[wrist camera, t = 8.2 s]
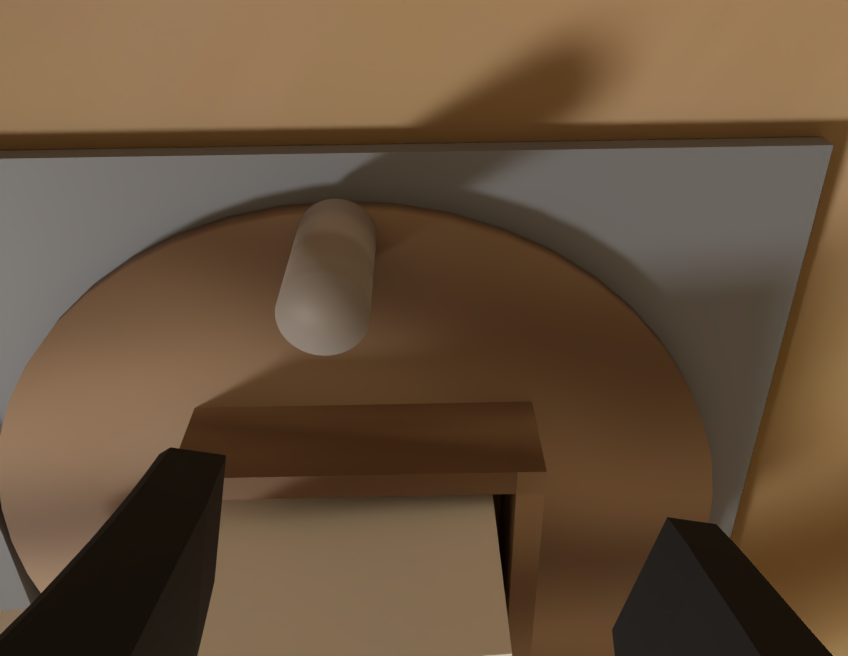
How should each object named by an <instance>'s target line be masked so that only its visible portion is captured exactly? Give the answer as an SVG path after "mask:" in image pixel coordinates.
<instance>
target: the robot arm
mask: <svg viewBox="0 0 848 656" xmlns="http://www.w3.org/2000/svg"><path fill="white" fill-rule="evenodd" d="M225 463H226V455H222V454H215V453H207V452H200V451H193V450H186V449H179V448H172V447H170V448H168V449H167V450H165V451H163V452H162V453H160V454H159V455H158V456H157V458H156V459H155V461H154V462H153V463H152V465H151V466H150V468H149V469H148V470H147V472H146V473H145V474H144V476H143V477H142V478H141V479H140V481H139V482H138V483H137V485H136V486H135V487H134V488H133V490H132V491H131V492H130V493H129V495H128V496H127V497H126V498H125V500H124V501H123V502H122V503H121V504H120V506H119V507H118V508H117V509H116V511H115V512H114V513H113V514H112V515H111V516H110V518H109V519H108V520H107V521H106V522H105V523H104V525H103V526H102V527H101V528H100V529H99V530H98V532H97V533H96V534H95V535H94V536H93V537H92V538H91V540H90V541H89V542H88V543H87V544H86V545H85V546H84V547H83V548H82V549H81V551H80V552H79V553H78V554H77V555H76V556H75V557H74V558H73V559H72V560H71V561H70V563H69V564H68V565H67V566H66V567H65V568H64V569H63V570H62V571H61V572H60V573H59V574H58V576H57V577H56V578H55V579H54V580H53V581H52V582H51V583H50V584H49V585H48V586H47V587H46V589H45V590H44V591H43V592H42V593H41V594H40V595H39V596H38V597H37V598H36V599H35V600H34V601H33V602H32V603H31V604H30V605H29V606H28V607H27V608H26V609H25V610H24V611H23V612H22V613H21V614H20V615H19V616H18V617H17V618H16V619H15V620H14V621H13V622H12V623H11V624H10V625H9V626H8V627H7V628H6V629H5V630H4V631H3V632H2V633H1V634H0V656H198V651H199V647H200V643H201V639H202V634H203V630H204V626H205V621H206V617H207V612H208V608H209V604H210V599H211V595H212V590H213V586H214V582H215V572H216V561H217V550H218V539H219V528H220V517H221V507H222V496H223V485H224V474H225ZM612 635H613V644H614V653H615V656H833V655H832V654H831V653H830V652H829V651H828V650H827V649H826V647H825V646H824V645H823V644H822V643H821V642H820V641H819V640H818V638H817V637H816V636H815V635H814V634H813V633H812V632H811V630H810V629H809V628H808V627H807V626H806V625H805V624H804V622H803V621H802V620H801V619H800V618H799V617H798V616H797V614H796V613H795V612H794V611H793V610H792V609H791V607H790V606H789V605H788V604H787V603H786V602H785V601H784V599H783V598H782V597H781V596H780V595H779V594H778V593H777V591H776V590H775V589H774V588H773V587H772V586H771V584H770V583H769V582H768V581H767V580H766V579H765V578H764V576H763V575H762V574H761V573H760V572H759V571H758V570H757V568H756V567H755V566H754V565H753V564H752V563H751V562H750V560H749V559H748V558H747V557H746V556H745V555H744V554H743V552H742V551H741V550H740V549H739V548H738V547H737V546H736V545H735V544H734V542H733V541H732V540H731V539H730V538H729V537H728V536H727V535H726V534H725V533H724V532H723V531H722V530H721V529H720V527H719V526H718V525H717V524H713V523H705V522H698V521H691V520H684V519H677V518H670V517H667V519H666V521H665V523H664V525H663V527H662V529H661V531H660V533H659V535H658V537H657V539H656V541H655V543H654V545H653V547H652V549H651V551H650V553H649V555H648V557H647V559H646V561H645V564H644V566H643V568H642V570H641V572H640V574H639V576H638V578H637V580H636V582H635V584H634V586H633V588H632V590H631V592H630V594H629V596H628V598H627V600H626V602H625V604H624V606H623V608H622V610H621V612H620V614H619V616H618V619H617V621H616V623H615V625H614V627H613V629H612Z"/></svg>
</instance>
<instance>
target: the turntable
mask: <svg viewBox="0 0 848 656" xmlns="http://www.w3.org/2000/svg"><path fill="white" fill-rule="evenodd" d="M170 447H172V448H179V449H186V450H193V451H200V452H207V453H215V454H222V455H226V463H225V474H224V485H223V496H222V500H233V499H284V498H335V497H386V496H437V495H488V494H493V502H494V510H495V519H496V527H497V535H498V543H499V551H500V559H501V567H502V575H503V583H504V592H505V600H506V608H507V616H508V624H509V632H510V640H511V648H512V656H615V653H614V644H613V635H612V629H613V627H614V625H615V623H616V621H617V619H618V616H619V614H620V612H621V610H622V608H623V606H624V604H625V602H626V600H627V598H628V596H629V594H630V592H631V590H632V588H633V586H634V584H635V582H636V580H637V578H638V576H639V574H640V572H641V570H642V568H643V566H644V564H645V561H646V559H647V557H648V555H649V553H650V551H651V549H652V547H653V545H654V543H655V541H656V539H657V537H658V535H659V533H660V531H661V529H662V527H663V525H664V523H665V521H666V519H667V517H670V518H677V519H684V520H691V521H698V522H705V523H709V517H710V510H711V504H712V497H713V484H712V459H711V454H710V449H709V445H708V440H707V435H706V431H705V426H704V423H703V420H702V418H701V415H700V413H699V411H698V408H697V406H696V403H695V401H694V399H693V396H692V394H691V391H690V389H689V387H688V385H687V383H686V381H685V379H684V377H683V375H682V373H681V371H680V370H679V368H678V367H677V365H676V363H675V362H674V360H673V359H672V357H671V355H670V354H669V352H668V351H667V349H666V348H665V346H664V344H663V343H662V341H661V340H660V338H659V337H658V336H657V335H656V334H655V333H654V332H653V330H652V329H651V328H650V327H649V326H648V325H647V324H646V323H645V321H644V320H643V319H642V318H641V317H640V316H639V315H638V314H637V312H636V311H635V310H634V309H633V308H632V307H631V306H630V305H629V304H628V303H627V302H625V301H624V300H623V299H622V298H621V297H619V296H618V295H617V294H616V293H615V292H613V291H612V290H611V289H610V288H609V287H607V286H606V285H605V284H604V283H603V282H601V281H600V280H599V279H598V278H597V277H595V276H594V275H592V274H591V273H589V272H587V271H586V270H584V269H583V268H581V267H579V266H578V265H576V264H574V263H573V262H571V261H569V260H568V259H566V258H565V257H563V256H561V255H560V254H558V253H556V252H555V251H553V250H551V249H549V248H547V247H545V246H542V245H540V244H538V243H536V242H533V241H531V240H529V239H527V238H524V237H522V236H520V235H518V234H515V233H513V232H511V231H508V230H506V229H504V228H501V227H497V226H494V225H491V224H487V223H484V222H481V221H477V220H474V219H470V218H467V217H464V216H460V215H457V214H454V213H450V212H444V211H438V210H432V209H426V208H420V207H414V206H408V205H402V204H396V203H374V202H351V201H348V200H344V199H327V200H323V201H320V202H318V203H306V204H293V205H281V206H276V207H271V208H267V209H262V210H257V211H252V212H247V213H243V214H238V215H233V216H228V217H225V218H222V219H219V220H216V221H213V222H210V223H208V224H205V225H202V226H199V227H196V228H193V229H190V230H187V231H185V232H182V233H179V234H176V235H174V236H172V237H170V238H168V239H166V240H164V241H162V242H160V243H159V244H157V245H155V246H153V247H151V248H149V249H147V250H145V251H143V252H141V253H139V254H137V255H135V256H133V257H131V258H130V259H128V260H127V261H126V262H124V263H123V264H121V265H120V266H119V267H117V268H116V269H114V270H113V271H112V272H110V273H109V274H107V275H106V276H105V277H103V278H102V279H100V280H99V281H98V282H96V283H95V284H93V285H92V286H91V287H90V288H89V289H88V290H87V291H86V292H85V293H84V294H83V295H82V296H81V297H80V298H79V299H78V300H77V301H76V302H75V303H74V304H73V305H72V306H71V307H70V308H69V309H68V310H67V311H66V312H65V313H64V314H63V315H62V316H61V317H60V318H59V320H58V321H57V322H56V324H55V325H54V327H53V328H52V329H51V331H50V332H49V333H48V335H47V336H46V338H45V339H44V340H43V342H42V343H41V345H40V346H39V347H38V349H37V350H36V352H35V353H34V354H33V356H32V357H31V359H30V360H29V361H28V363H27V364H26V366H25V368H24V370H23V372H22V374H21V376H20V378H19V381H18V383H17V385H16V387H15V389H14V391H13V393H12V395H11V398H10V400H9V402H8V406H7V410H6V414H5V418H4V422H3V426H2V430H1V434H0V500H1V508H2V512H3V515H4V518H5V521H6V525H7V528H8V531H9V534H10V538H11V541H12V543H13V545H14V547H15V549H16V552H17V554H18V556H19V558H20V560H21V562H22V564H23V566H24V568H25V570H26V572H27V574H28V575H29V577H30V578H31V580H32V581H33V582H34V584H35V585H36V587H37V588H38V590H39V591H40V593H42V592H43V591H44V590H45V589H46V587H47V586H48V585H49V584H50V583H51V582H52V581H53V580H54V579H55V578H56V577H57V576H58V574H59V573H60V572H61V571H62V570H63V569H64V568H65V567H66V566H67V565H68V564H69V563H70V561H71V560H72V559H73V558H74V557H75V556H76V555H77V554H78V553H79V552H80V551H81V549H82V548H83V547H84V546H85V545H86V544H87V543H88V542H89V541H90V540H91V538H92V537H93V536H94V535H95V534H96V533H97V532H98V530H99V529H100V528H101V527H102V526H103V525H104V523H105V522H106V521H107V520H108V519H109V518H110V516H111V515H112V514H113V513H114V512H115V511H116V509H117V508H118V507H119V506H120V504H121V503H122V502H123V501H124V500H125V498H126V497H127V496H128V495H129V493H130V492H131V491H132V490H133V488H134V487H135V486H136V485H137V483H138V482H139V481H140V479H141V478H142V477H143V476H144V474H145V473H146V472H147V470H148V469H149V468H150V466H151V465H152V463H153V462H154V461H155V459H156V458H157V456H158V455H159V454H160V453H162V452H163V451H165V450H167V449H168V448H170Z"/></svg>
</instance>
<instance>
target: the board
mask: <svg viewBox="0 0 848 656" xmlns="http://www.w3.org/2000/svg"><path fill="white" fill-rule="evenodd" d="M832 149H833V144H831V143H830V142H829V141H827V140H826V139H825V138H823V137H798V138H737V139H676V140H614V141H553V142H492V143H431V144H370V145H308V146H247V147H186V148H125V149H64V150H3V151H0V434H1V430H2V426H3V422H4V418H5V414H6V410H7V406H8V402H9V400H10V398H11V395H12V393H13V391H14V389H15V387H16V385H17V383H18V381H19V378H20V376H21V374H22V372H23V370H24V368H25V366H26V364H27V363H28V361H29V360H30V359H31V357H32V356H33V354H34V353H35V352H36V350H37V349H38V347H39V346H40V345H41V343H42V342H43V340H44V339H45V338H46V336H47V335H48V333H49V332H50V331H51V329H52V328H53V327H54V325H55V324H56V322H57V321H58V320H59V318H60V317H61V316H62V315H63V314H64V313H65V312H66V311H67V310H68V309H69V308H70V307H71V306H72V305H73V304H74V303H75V302H76V301H77V300H78V299H79V298H80V297H81V296H82V295H83V294H84V293H85V292H86V291H87V290H88V289H89V288H90V287H91V286H92V285H93V284H95V283H96V282H98V281H99V280H100V279H102V278H103V277H105V276H106V275H107V274H109V273H110V272H112V271H113V270H114V269H116V268H117V267H119V266H120V265H121V264H123V263H124V262H126V261H127V260H128V259H130V258H131V257H133V256H135V255H137V254H139V253H141V252H143V251H145V250H147V249H149V248H151V247H153V246H155V245H157V244H159V243H160V242H162V241H164V240H166V239H168V238H170V237H172V236H174V235H176V234H179V233H182V232H185V231H187V230H190V229H193V228H196V227H199V226H202V225H205V224H208V223H210V222H213V221H216V220H219V219H222V218H225V217H228V216H233V215H238V214H243V213H247V212H252V211H257V210H262V209H267V208H271V207H276V206H281V205H293V204H306V203H318V202H320V201H323V200H327V199H344V200H348V201H351V202H374V203H396V204H402V205H408V206H414V207H420V208H426V209H432V210H438V211H444V212H450V213H454V214H457V215H460V216H464V217H467V218H470V219H474V220H477V221H481V222H484V223H487V224H491V225H494V226H497V227H501V228H504V229H506V230H508V231H511V232H513V233H515V234H518V235H520V236H522V237H524V238H527V239H529V240H531V241H533V242H536V243H538V244H540V245H542V246H545V247H547V248H549V249H551V250H553V251H555V252H556V253H558V254H560V255H561V256H563V257H565V258H566V259H568V260H569V261H571V262H573V263H574V264H576V265H578V266H579V267H581V268H583V269H584V270H586V271H587V272H589V273H591V274H592V275H594V276H595V277H597V278H598V279H599V280H600V281H601V282H603V283H604V284H605V285H606V286H607V287H609V288H610V289H611V290H612V291H613V292H615V293H616V294H617V295H618V296H619V297H621V298H622V299H623V300H624V301H625V302H627V303H628V304H629V305H630V306H631V307H632V308H633V309H634V310H635V311H636V312H637V314H638V315H639V316H640V317H641V318H642V319H643V320H644V321H645V323H646V324H647V325H648V326H649V327H650V328H651V329H652V330H653V332H654V333H655V334H656V335H657V336H658V337H659V338H660V340H661V341H662V343H663V344H664V346H665V348H666V349H667V351H668V352H669V354H670V355H671V357H672V359H673V360H674V362H675V363H676V365H677V367H678V368H679V370H680V371H681V373H682V375H683V377H684V379H685V381H686V383H687V385H688V387H689V389H690V391H691V394H692V396H693V399H694V401H695V403H696V406H697V408H698V411H699V413H700V415H701V418H702V420H703V423H704V426H705V431H706V435H707V440H708V445H709V449H710V454H711V459H712V484H713V497H712V504H711V510H710V517H709V523H713V524H717V525H718V526H719V527H720V529H721V530H722V531H723V532H724V533H725V534H726V535H727V536H728V537H729V538H730V537H731V533H732V529H733V525H734V522H735V518H736V514H737V510H738V506H739V503H740V499H741V495H742V491H743V487H744V484H745V480H746V476H747V472H748V468H749V465H750V461H751V457H752V453H753V449H754V446H755V442H756V438H757V434H758V430H759V427H760V423H761V419H762V415H763V411H764V408H765V404H766V400H767V396H768V392H769V389H770V385H771V381H772V377H773V373H774V370H775V366H776V362H777V358H778V354H779V351H780V347H781V343H782V339H783V335H784V332H785V328H786V324H787V320H788V316H789V313H790V309H791V305H792V301H793V297H794V294H795V290H796V286H797V282H798V278H799V275H800V271H801V267H802V263H803V259H804V256H805V252H806V248H807V244H808V240H809V237H810V233H811V229H812V225H813V221H814V218H815V214H816V210H817V206H818V202H819V199H820V195H821V191H822V187H823V183H824V180H825V176H826V172H827V168H828V164H829V161H830V157H831V153H832ZM40 594H41V593H40V591H39V590H38V588H37V587H36V585H35V584H34V582H33V581H32V580H31V578H30V577H29V575H28V574H27V572H26V570H25V568H24V566H23V564H22V562H21V560H20V558H19V556H18V554H17V552H16V549H15V547H14V545H13V543H12V541H11V538H10V534H9V531H8V528H7V525H6V521H5V518H4V515H3V512H2V508H1V500H0V611H6V610H21V609H26V608H27V607H28V606H29V605H30V604H31V603H32V602H33V601H34V600H35V599H36V598H37V597H38V596H39V595H40Z"/></svg>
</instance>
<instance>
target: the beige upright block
mask: <svg viewBox="0 0 848 656" xmlns="http://www.w3.org/2000/svg"><path fill="white" fill-rule="evenodd" d="M24 610H25V609H21V610H6V611H0V634H1V633H2V632H3V631H4V630H5V629H6V628H7V627H8V626H9V625H10V624H11V623H12V622H13V621H14V620H15V619H16V618H17V617H18V616H19V615H20V614H21V613H22V612H23V611H24ZM198 656H512V648H511V640H510V632H509V624H508V616H507V608H506V600H505V592H504V583H503V575H502V567H501V559H500V551H499V543H498V535H497V527H496V519H495V510H494V502H493V494H488V495H437V496H386V497H335V498H284V499H233V500H222V507H221V517H220V528H219V539H218V550H217V561H216V572H215V582H214V586H213V590H212V595H211V599H210V604H209V608H208V612H207V617H206V621H205V626H204V630H203V634H202V639H201V643H200V647H199V651H198Z"/></svg>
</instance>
